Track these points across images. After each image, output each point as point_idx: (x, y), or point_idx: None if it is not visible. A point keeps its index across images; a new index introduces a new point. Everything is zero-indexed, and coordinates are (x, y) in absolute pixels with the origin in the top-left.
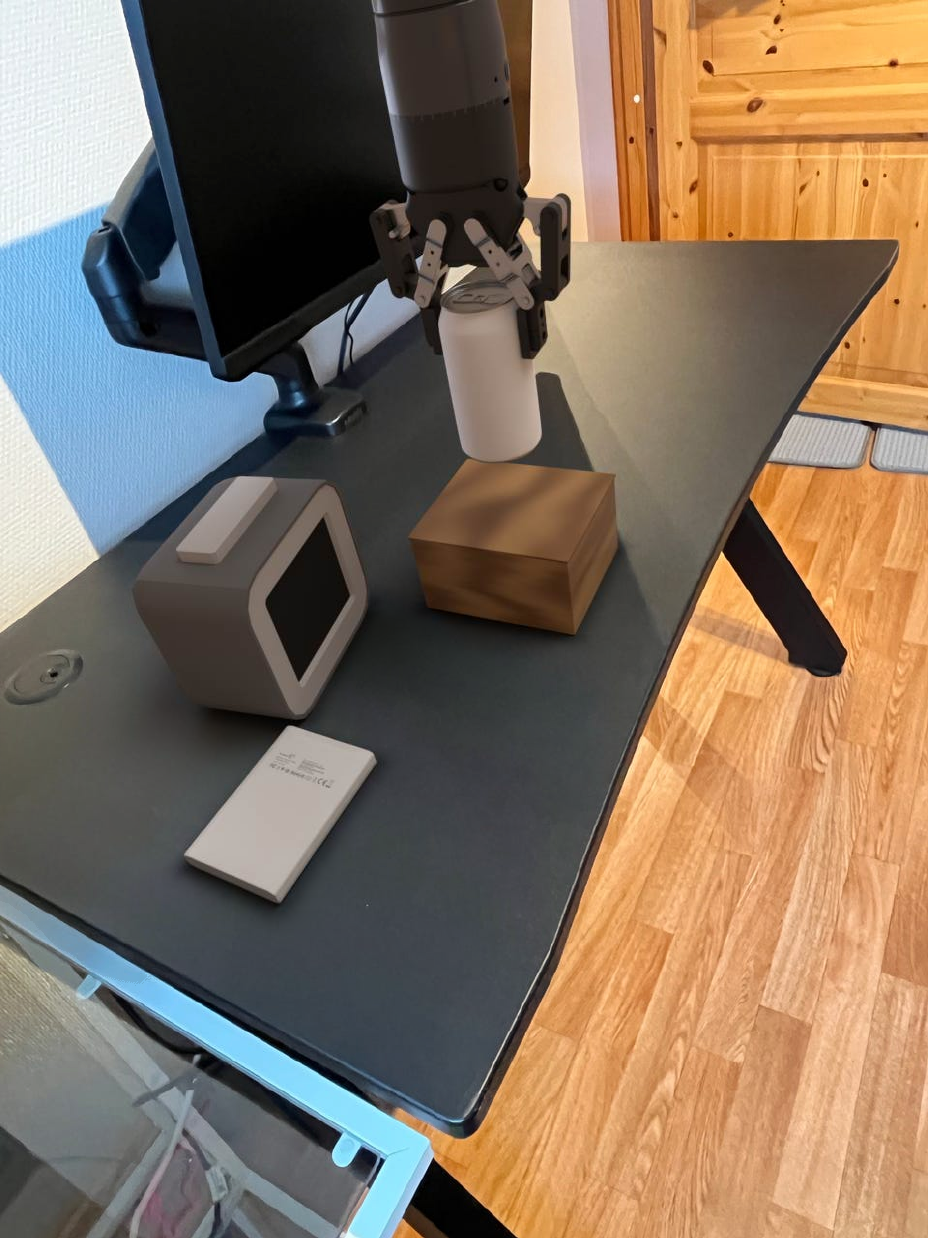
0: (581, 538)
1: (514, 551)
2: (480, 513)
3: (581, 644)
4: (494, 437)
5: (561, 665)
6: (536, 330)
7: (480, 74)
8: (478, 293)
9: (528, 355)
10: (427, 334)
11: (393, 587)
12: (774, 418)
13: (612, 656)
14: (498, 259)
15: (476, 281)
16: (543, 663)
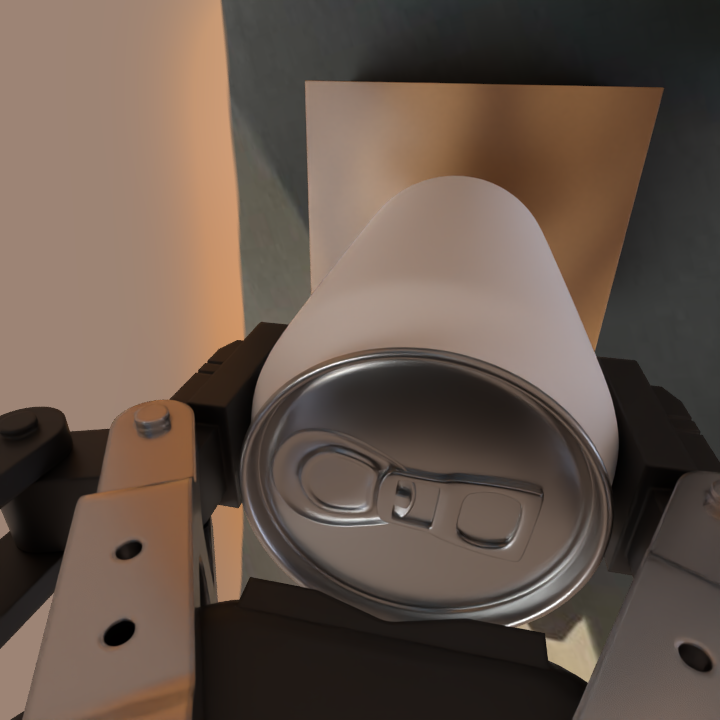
0: (307, 158)
1: (410, 89)
2: None
3: (334, 66)
4: (420, 190)
5: (348, 8)
6: (206, 374)
7: None
8: (439, 546)
9: (266, 324)
10: (678, 413)
11: (697, 130)
12: (247, 529)
13: (285, 52)
14: (103, 574)
15: None
16: (375, 3)
